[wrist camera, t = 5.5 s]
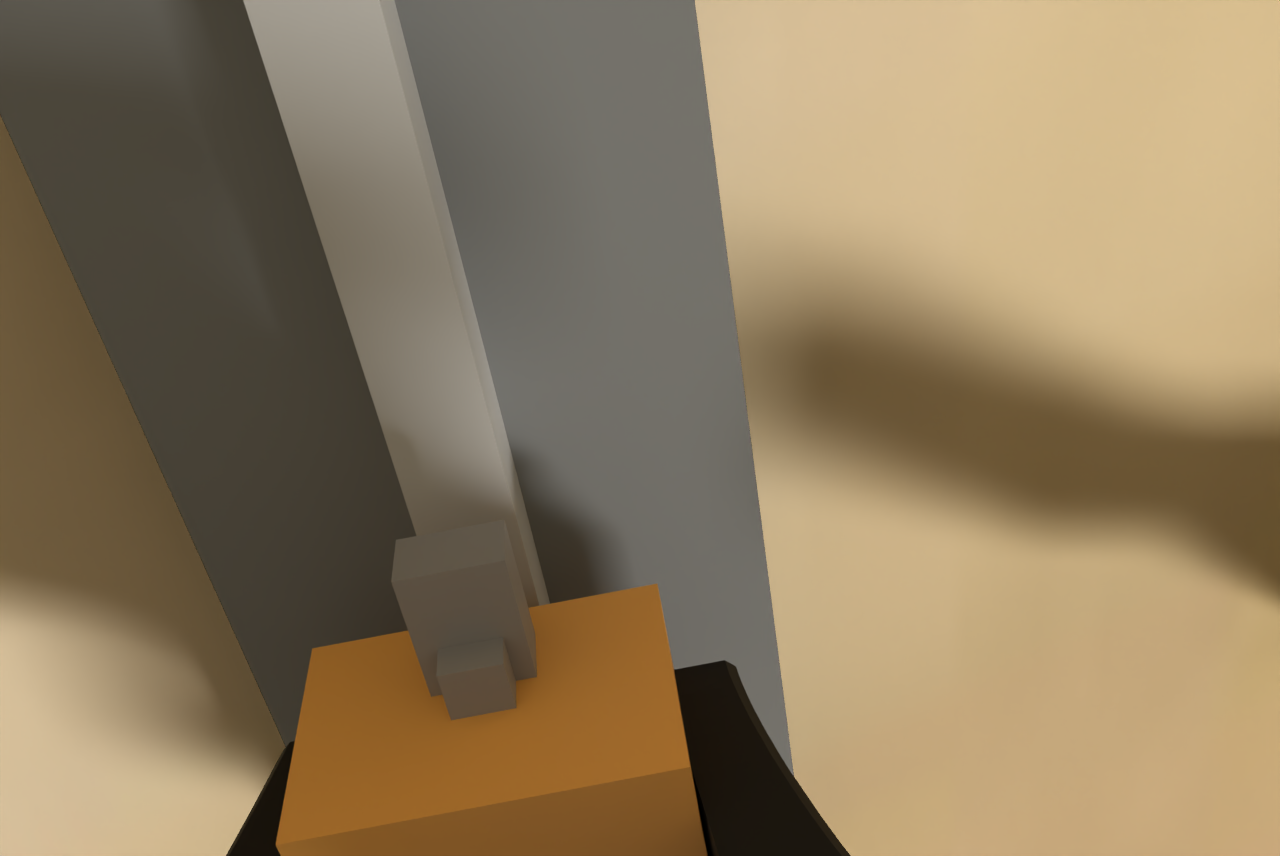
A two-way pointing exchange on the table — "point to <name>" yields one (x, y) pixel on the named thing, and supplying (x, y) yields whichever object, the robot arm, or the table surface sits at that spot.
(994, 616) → the table surface
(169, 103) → the linear slider rail
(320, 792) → the orange cube with peg
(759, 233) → the table surface
